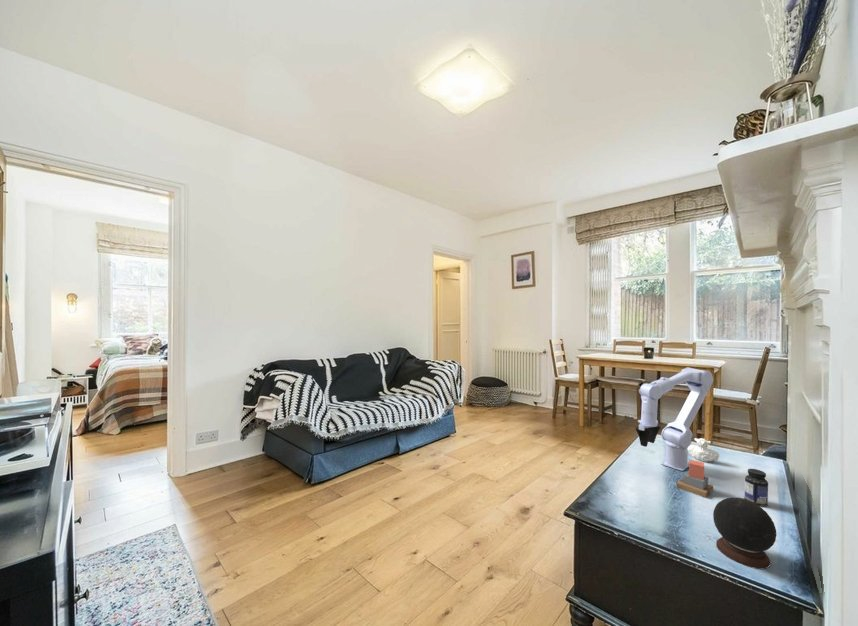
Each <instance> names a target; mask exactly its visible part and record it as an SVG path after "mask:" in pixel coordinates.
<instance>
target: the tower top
mask: <svg viewBox="0 0 858 626" xmlns="http://www.w3.org/2000/svg"><path fill="white" fill-rule="evenodd" d="M683 478H684V483H685V484H688V485H690V486H693V487H696V488H699V489H702V490H704V489H705V488H706V487H707V486H708V484H709V476H705V475H704V480H702V479H698V478H694V477H690V476H689V471H688V472H687V473H686V474H684V475H683Z"/></svg>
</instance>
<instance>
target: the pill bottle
mask: <svg viewBox="0 0 858 626" xmlns="http://www.w3.org/2000/svg"><path fill="white" fill-rule="evenodd" d="M747 473H748V474H747V475H745V477H744V499H746V500H749V501H751V502H753V503H755V504H757V505H758V506H760V507H766V506H768V504H769V500H768V499H769V482H768V481H767V479H766V478H767V474H766V472H765V471H763V470H759V469H756V468H748V469H747Z"/></svg>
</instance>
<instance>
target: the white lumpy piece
mask: <svg viewBox="0 0 858 626" xmlns="http://www.w3.org/2000/svg"><path fill="white" fill-rule="evenodd" d="M694 441H696V444H695V445H694V444H690V446H689V447H688V448H687V450H688V455H690V456H691V457H693V458H695V459H696V460H697V461H699V462H704V463H706V462H717V461H718V460H719V458H720V453H719V452H718V451H716V450H715V449H711V448H708V447H709V446H708V445H710V444H711V441H710V440H706V438H702V437H700V438H697V437H695V438H694Z"/></svg>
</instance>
